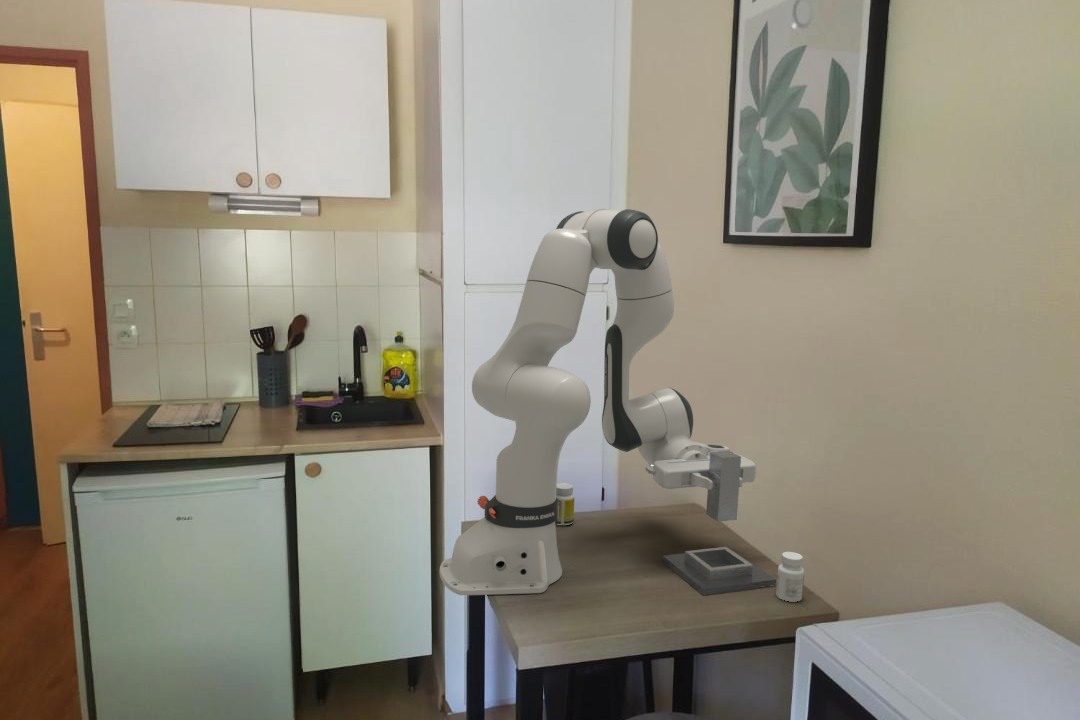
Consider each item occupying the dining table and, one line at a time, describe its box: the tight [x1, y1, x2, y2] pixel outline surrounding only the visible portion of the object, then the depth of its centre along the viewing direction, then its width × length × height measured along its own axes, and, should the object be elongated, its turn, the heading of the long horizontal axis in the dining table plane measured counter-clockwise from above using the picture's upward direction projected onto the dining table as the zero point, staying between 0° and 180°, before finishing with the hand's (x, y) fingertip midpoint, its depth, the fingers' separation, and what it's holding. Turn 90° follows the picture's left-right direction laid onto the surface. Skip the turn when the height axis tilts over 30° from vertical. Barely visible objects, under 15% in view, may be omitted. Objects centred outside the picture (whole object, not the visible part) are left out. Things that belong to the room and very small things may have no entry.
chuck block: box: [662, 546, 777, 597], centre depth 142 cm, size 15×15×3 cm
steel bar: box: [705, 451, 742, 522], centre depth 140 cm, size 4×4×12 cm
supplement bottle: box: [556, 482, 575, 525], centre depth 166 cm, size 5×5×8 cm
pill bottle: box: [775, 551, 805, 603], centre depth 133 cm, size 4×4×8 cm
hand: (726, 484), depth 139 cm, fingers closed on steel bar, 4 cm apart
